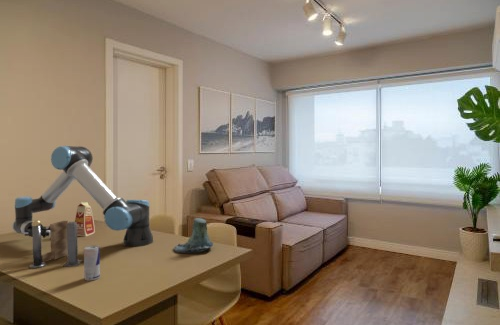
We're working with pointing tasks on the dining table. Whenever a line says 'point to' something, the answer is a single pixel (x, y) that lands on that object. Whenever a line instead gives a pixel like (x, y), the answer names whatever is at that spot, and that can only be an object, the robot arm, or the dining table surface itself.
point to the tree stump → (196, 239)
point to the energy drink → (91, 263)
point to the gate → (57, 241)
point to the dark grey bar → (72, 245)
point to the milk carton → (84, 220)
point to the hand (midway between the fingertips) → (54, 234)
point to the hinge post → (37, 245)
